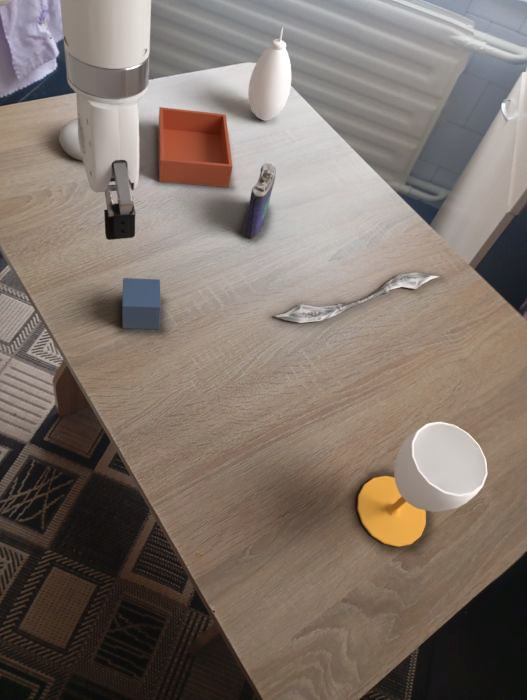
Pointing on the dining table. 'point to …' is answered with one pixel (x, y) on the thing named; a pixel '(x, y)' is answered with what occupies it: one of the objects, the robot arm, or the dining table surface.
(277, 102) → the sauce bottle
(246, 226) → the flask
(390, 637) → the dining table surface
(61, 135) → the donut
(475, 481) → the cup
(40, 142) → the dining table surface
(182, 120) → the bin
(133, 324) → the block
